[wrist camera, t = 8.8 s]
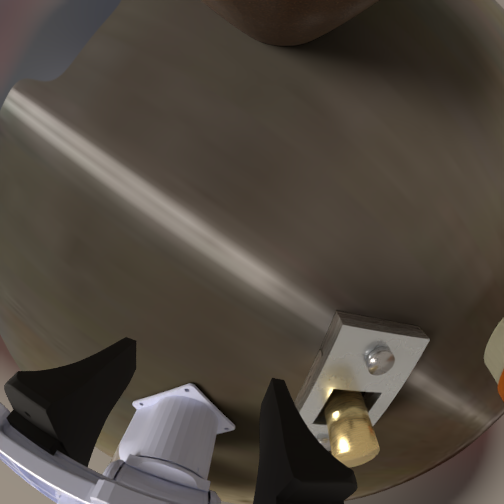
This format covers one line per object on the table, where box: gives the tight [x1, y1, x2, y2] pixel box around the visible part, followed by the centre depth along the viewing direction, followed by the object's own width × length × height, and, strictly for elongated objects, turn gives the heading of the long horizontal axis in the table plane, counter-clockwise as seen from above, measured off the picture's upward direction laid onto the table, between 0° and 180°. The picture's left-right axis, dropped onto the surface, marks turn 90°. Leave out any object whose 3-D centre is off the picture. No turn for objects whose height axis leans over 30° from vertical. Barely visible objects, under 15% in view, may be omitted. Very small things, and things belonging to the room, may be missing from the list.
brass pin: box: [323, 389, 380, 467], centre depth 20 cm, size 4×4×8 cm
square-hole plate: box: [294, 310, 430, 451], centre depth 22 cm, size 17×9×3 cm, turn 166°
